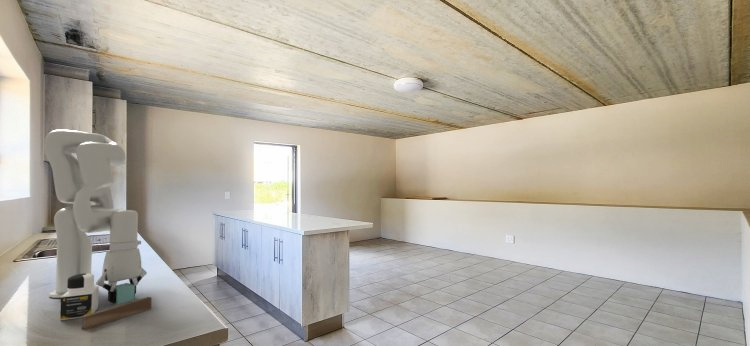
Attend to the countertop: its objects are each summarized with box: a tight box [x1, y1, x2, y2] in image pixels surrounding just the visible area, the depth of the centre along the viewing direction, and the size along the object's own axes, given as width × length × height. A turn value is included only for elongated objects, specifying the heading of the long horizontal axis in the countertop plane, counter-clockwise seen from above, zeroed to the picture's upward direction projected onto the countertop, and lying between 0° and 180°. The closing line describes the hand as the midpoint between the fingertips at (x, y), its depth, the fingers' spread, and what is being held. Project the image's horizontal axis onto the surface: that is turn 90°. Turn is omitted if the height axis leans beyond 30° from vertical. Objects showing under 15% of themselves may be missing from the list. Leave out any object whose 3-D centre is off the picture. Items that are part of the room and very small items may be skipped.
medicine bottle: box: [59, 273, 100, 321], centre depth 99 cm, size 7×7×12 cm
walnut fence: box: [81, 296, 152, 331], centre depth 96 cm, size 2×17×4 cm, turn 153°
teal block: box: [114, 282, 135, 305], centre depth 110 cm, size 5×5×5 cm
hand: (122, 299), depth 110 cm, fingers closed on teal block, 5 cm apart
